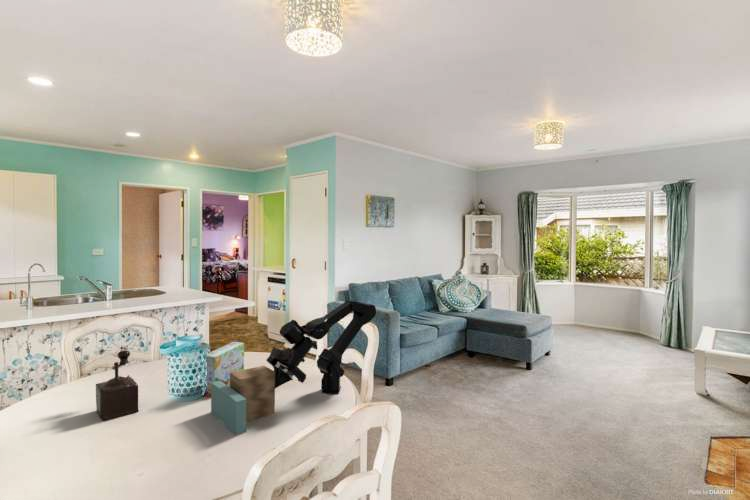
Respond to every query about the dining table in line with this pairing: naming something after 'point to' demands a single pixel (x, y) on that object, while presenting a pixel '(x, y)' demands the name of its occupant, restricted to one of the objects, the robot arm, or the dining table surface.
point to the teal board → (228, 407)
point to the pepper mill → (117, 393)
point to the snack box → (224, 364)
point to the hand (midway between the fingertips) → (269, 389)
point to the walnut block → (255, 390)
